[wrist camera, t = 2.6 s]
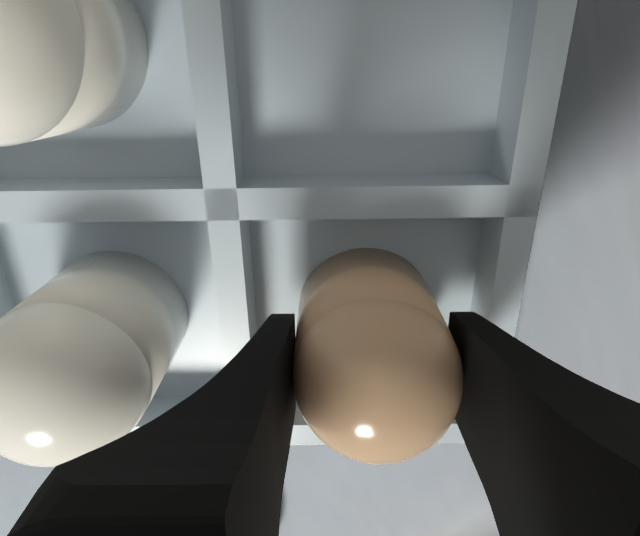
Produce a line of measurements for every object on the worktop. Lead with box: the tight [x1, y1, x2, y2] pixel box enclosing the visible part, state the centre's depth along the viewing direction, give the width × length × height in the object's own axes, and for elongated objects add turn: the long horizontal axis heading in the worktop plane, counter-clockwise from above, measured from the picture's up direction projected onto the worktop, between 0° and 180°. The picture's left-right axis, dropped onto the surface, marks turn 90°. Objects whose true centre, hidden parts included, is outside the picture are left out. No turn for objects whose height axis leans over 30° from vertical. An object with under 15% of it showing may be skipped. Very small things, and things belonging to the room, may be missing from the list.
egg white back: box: [0, 251, 188, 467], centre depth 11 cm, size 4×4×5 cm
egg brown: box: [293, 248, 464, 465], centre depth 11 cm, size 4×4×5 cm
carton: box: [0, 0, 578, 445], centre depth 12 cm, size 16×16×2 cm
